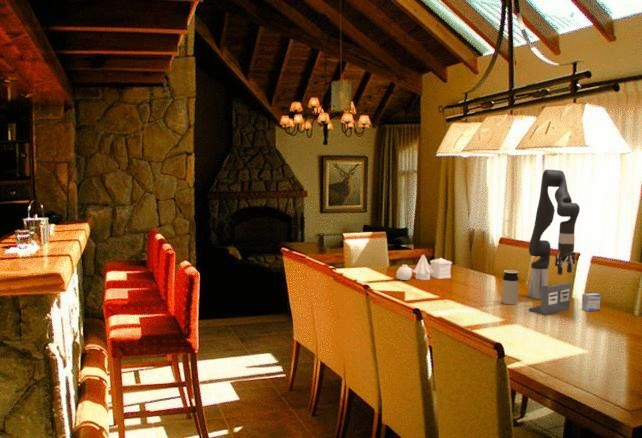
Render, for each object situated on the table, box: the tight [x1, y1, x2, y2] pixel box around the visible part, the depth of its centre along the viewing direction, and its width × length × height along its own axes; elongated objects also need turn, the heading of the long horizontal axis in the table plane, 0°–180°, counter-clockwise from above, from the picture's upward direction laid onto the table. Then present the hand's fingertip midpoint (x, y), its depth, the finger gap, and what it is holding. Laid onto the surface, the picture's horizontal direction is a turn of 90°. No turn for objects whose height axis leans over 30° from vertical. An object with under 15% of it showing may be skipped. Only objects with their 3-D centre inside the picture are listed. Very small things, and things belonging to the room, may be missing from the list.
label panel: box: [528, 281, 572, 316], centre depth 311 cm, size 10×22×14 cm, turn 127°
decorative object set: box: [396, 254, 453, 281], centre depth 398 cm, size 40×18×16 cm, turn 115°
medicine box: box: [581, 292, 601, 312], centre depth 313 cm, size 8×4×9 cm, turn 107°
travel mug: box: [501, 269, 519, 306], centre depth 326 cm, size 8×8×18 cm
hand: (564, 273), depth 301 cm, fingers open, 8 cm apart
